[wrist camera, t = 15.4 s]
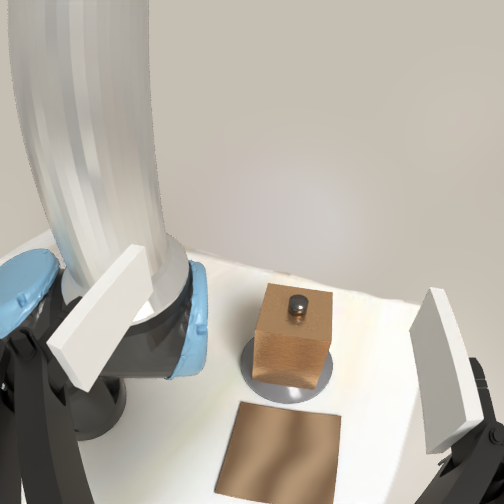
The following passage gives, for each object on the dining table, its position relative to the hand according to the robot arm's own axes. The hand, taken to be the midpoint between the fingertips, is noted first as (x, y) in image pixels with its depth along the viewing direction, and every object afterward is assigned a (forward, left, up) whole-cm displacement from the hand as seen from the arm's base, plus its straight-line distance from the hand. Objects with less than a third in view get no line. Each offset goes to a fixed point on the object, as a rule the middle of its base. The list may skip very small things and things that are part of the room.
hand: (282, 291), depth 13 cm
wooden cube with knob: (-7, +17, -29) cm, 34 cm away
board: (+1, +4, -30) cm, 30 cm away
